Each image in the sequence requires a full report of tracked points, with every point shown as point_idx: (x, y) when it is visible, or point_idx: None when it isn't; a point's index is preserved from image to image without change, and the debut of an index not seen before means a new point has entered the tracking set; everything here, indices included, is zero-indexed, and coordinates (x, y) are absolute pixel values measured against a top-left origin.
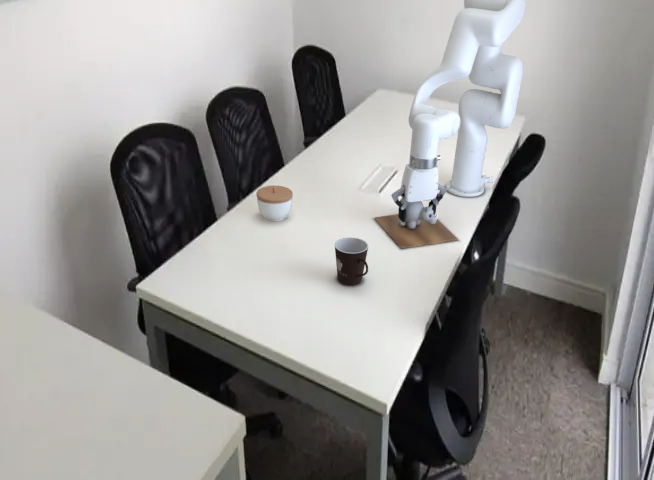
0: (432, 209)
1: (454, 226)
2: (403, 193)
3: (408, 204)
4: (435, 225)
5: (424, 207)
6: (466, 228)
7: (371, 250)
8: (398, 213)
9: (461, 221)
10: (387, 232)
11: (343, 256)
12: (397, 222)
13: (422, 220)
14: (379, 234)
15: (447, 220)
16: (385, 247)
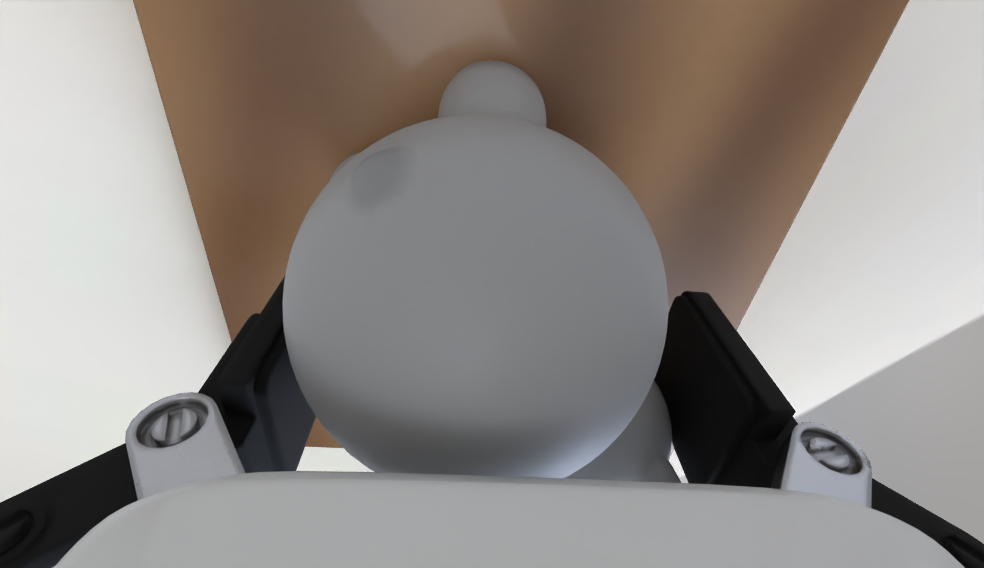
0: (680, 449)
1: (825, 310)
2: (178, 544)
3: (350, 452)
4: (687, 286)
5: (584, 467)
6: (864, 359)
7: (42, 395)
8: (236, 341)
9: (961, 262)
10: (204, 236)
11: None
12: (371, 92)
13: (659, 156)
14: (127, 217)
15: (890, 203)
16: (156, 392)
